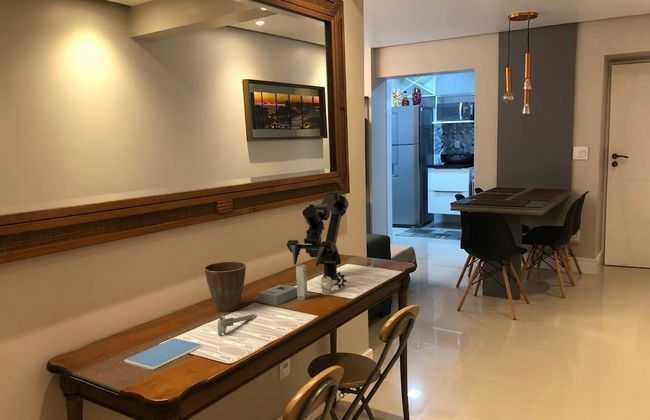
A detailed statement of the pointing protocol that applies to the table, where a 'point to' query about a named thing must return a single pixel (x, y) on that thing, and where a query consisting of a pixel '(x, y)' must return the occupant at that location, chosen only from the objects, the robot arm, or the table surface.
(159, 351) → the tablet computer
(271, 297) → the bore block
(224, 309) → the plant pot
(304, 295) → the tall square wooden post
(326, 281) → the valve
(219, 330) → the caliper
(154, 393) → the table surface
